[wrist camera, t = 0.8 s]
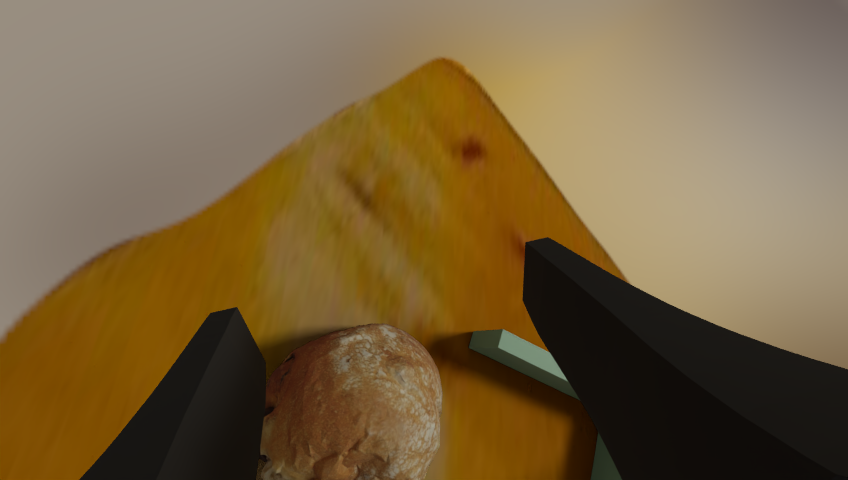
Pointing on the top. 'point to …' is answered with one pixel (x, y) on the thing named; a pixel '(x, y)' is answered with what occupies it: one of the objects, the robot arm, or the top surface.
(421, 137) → the top surface
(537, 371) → the teal shallow tray
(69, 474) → the top surface
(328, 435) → the bread roll
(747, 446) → the robot arm
